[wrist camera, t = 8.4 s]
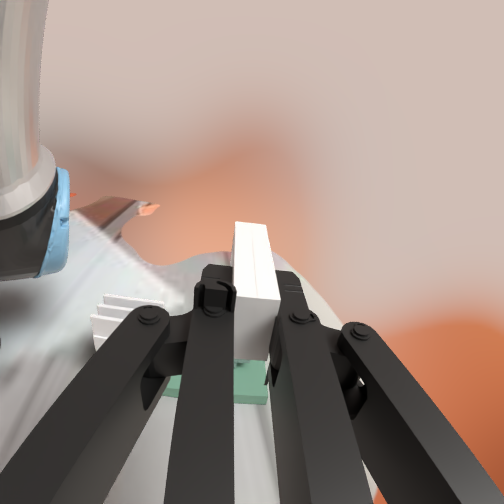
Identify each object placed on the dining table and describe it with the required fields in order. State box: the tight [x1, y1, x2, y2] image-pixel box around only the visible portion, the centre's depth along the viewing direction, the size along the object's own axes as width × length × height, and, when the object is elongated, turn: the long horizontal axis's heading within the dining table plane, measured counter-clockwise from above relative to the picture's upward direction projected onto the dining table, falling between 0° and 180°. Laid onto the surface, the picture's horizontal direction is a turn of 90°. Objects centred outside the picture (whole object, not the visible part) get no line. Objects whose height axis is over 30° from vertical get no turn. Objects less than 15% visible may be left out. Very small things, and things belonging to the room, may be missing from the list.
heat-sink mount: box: [90, 294, 268, 404], centre depth 34 cm, size 20×8×9 cm, turn 91°
